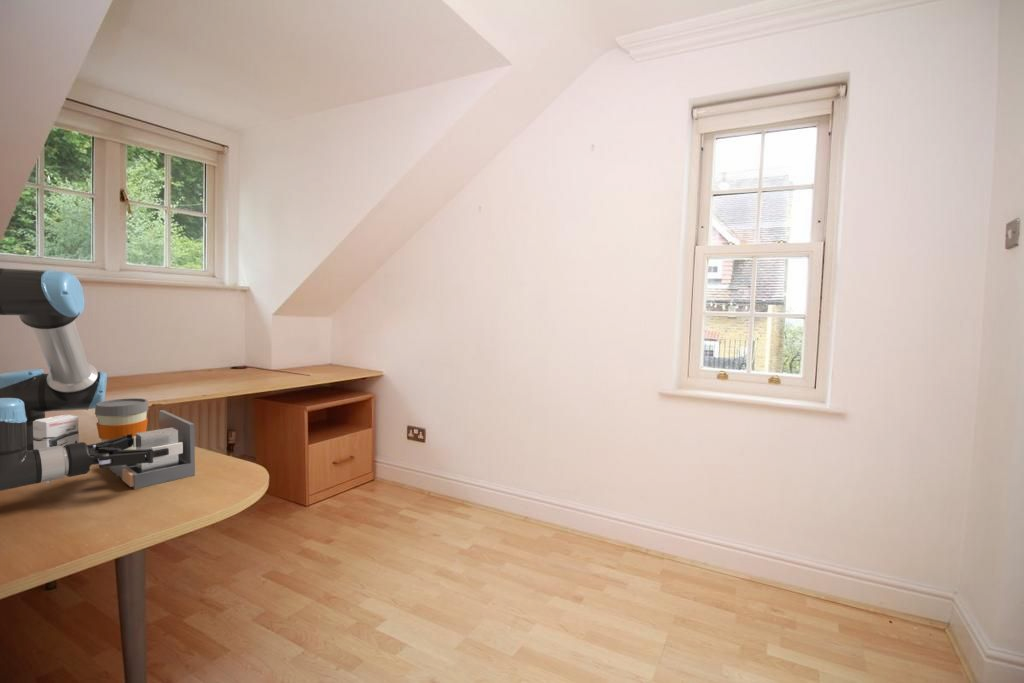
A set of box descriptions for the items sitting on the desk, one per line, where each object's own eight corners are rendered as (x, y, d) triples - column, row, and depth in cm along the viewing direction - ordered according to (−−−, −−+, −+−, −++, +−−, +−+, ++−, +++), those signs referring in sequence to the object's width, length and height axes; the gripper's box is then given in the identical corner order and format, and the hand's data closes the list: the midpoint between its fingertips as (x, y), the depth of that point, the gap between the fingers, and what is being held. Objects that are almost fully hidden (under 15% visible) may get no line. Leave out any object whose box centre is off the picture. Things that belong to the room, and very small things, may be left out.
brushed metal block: (136, 478, 123) (135, 433, 122) (172, 470, 129) (172, 427, 128) (142, 482, 120) (141, 436, 119) (178, 474, 127) (178, 430, 126)
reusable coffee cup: (116, 459, 137) (115, 408, 136) (85, 454, 140) (83, 404, 139) (159, 447, 149) (158, 400, 148) (129, 443, 152) (128, 396, 151)
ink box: (46, 464, 132) (45, 422, 131) (32, 462, 133) (31, 420, 132) (80, 454, 140) (79, 415, 139) (67, 453, 141) (65, 413, 140)
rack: (104, 468, 130) (103, 417, 129) (164, 456, 141) (163, 410, 140) (131, 489, 117) (130, 433, 116) (194, 475, 128) (194, 424, 127)
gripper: (52, 464, 117) (155, 446, 134) (79, 491, 102) (191, 467, 119) (51, 434, 117) (155, 420, 134) (78, 457, 102) (190, 437, 119)
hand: (172, 442), depth 127 cm, fingers open, 13 cm apart
